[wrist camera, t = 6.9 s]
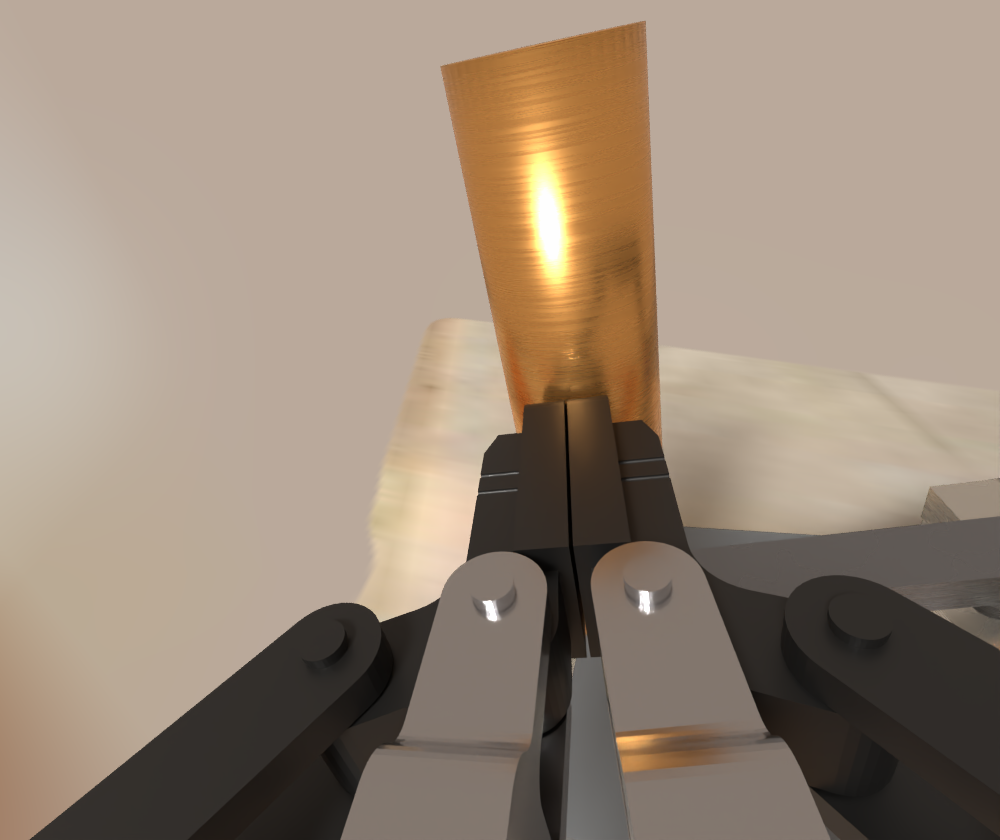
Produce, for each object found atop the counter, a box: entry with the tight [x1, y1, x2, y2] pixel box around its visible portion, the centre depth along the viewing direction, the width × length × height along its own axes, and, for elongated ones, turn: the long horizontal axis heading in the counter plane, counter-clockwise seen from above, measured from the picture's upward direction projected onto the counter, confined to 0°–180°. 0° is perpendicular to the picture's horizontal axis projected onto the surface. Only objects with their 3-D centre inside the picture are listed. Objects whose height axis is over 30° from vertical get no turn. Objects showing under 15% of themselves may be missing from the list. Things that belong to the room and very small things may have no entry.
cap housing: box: [566, 527, 840, 840], centre depth 20 cm, size 20×14×5 cm
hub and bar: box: [441, 21, 1000, 649], centre depth 12 cm, size 19×9×16 cm, turn 88°
